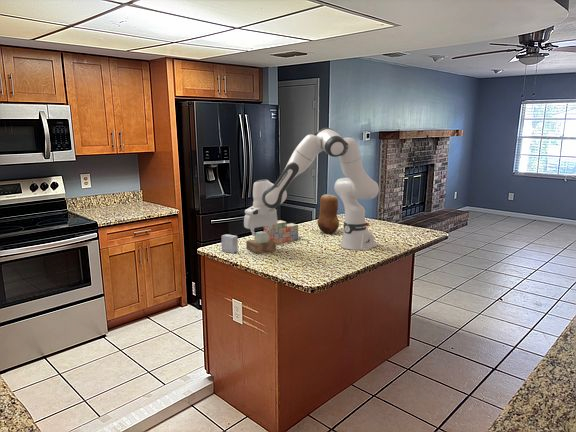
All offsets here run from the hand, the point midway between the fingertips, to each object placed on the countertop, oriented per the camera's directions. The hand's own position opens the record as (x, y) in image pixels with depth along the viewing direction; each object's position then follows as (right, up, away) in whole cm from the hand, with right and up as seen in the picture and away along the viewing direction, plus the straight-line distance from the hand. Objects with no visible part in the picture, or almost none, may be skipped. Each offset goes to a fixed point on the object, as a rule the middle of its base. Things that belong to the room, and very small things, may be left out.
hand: (261, 234), depth 229 cm
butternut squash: (+40, -1, +43) cm, 59 cm away
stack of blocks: (+11, -5, +21) cm, 24 cm away
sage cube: (0, -4, +1) cm, 4 cm away
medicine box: (-17, -9, -2) cm, 19 cm away
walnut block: (0, -9, +2) cm, 9 cm away
